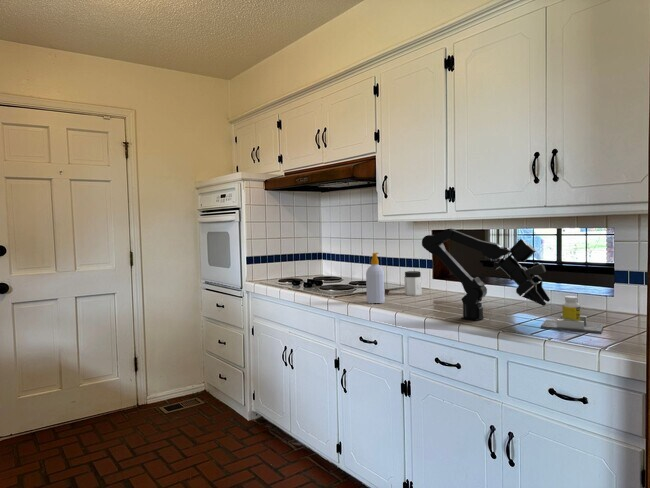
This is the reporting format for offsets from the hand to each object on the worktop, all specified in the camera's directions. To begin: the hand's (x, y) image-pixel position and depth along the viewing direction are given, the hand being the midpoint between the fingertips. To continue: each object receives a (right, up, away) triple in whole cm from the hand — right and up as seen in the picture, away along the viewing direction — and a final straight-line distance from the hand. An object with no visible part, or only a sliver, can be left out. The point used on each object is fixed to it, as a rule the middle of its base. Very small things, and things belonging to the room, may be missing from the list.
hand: (547, 302), depth 165 cm
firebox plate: (+7, -8, -4) cm, 11 cm away
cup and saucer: (-50, -6, +86) cm, 100 cm away
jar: (-32, -6, +80) cm, 87 cm away
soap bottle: (-54, -7, +58) cm, 80 cm away
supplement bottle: (+7, -7, -4) cm, 11 cm away
